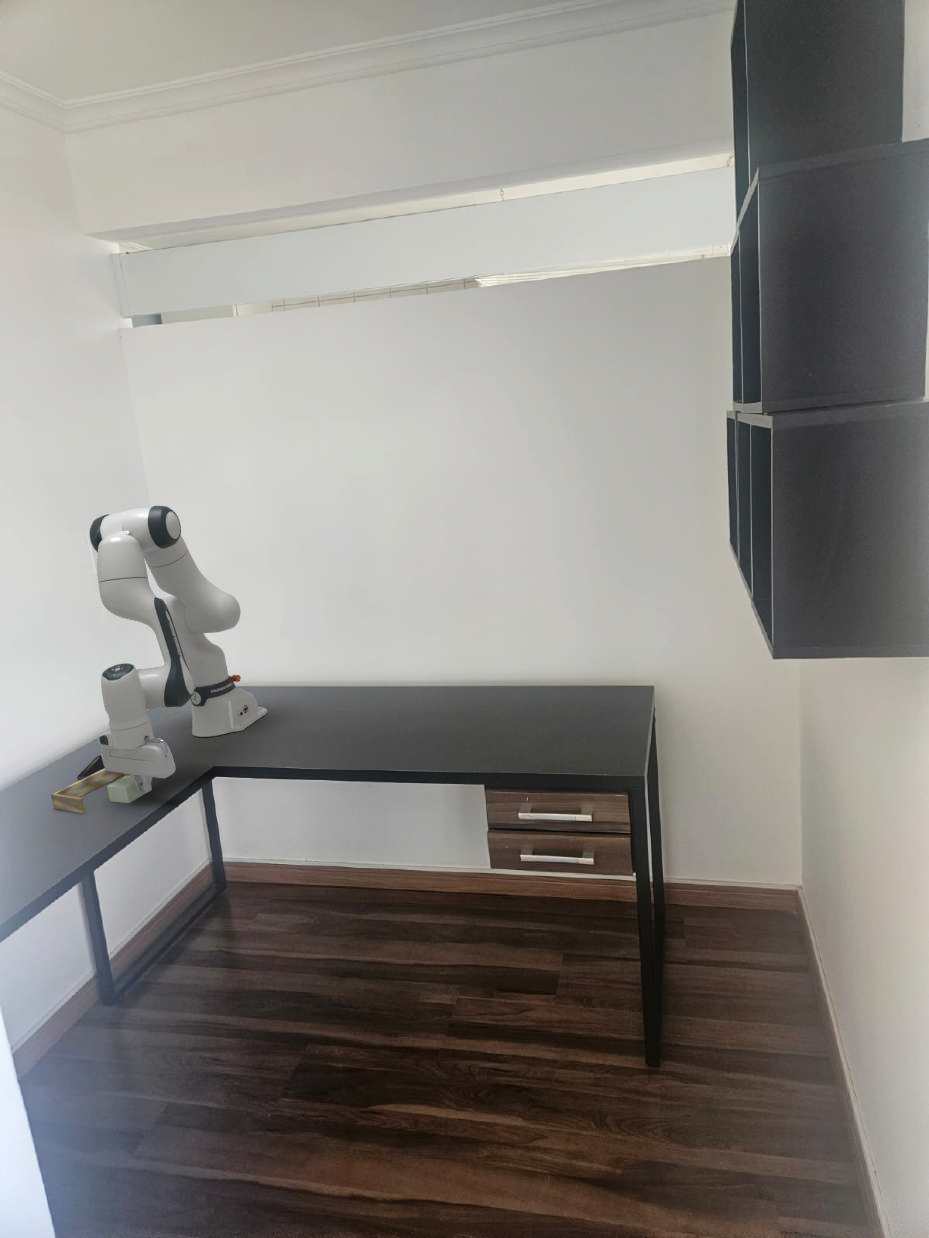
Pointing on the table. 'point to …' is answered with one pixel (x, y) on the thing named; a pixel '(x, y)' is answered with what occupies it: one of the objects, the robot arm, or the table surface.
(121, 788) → the sage block
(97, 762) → the phone
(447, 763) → the table surface
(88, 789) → the wooden u-shaped bracket
